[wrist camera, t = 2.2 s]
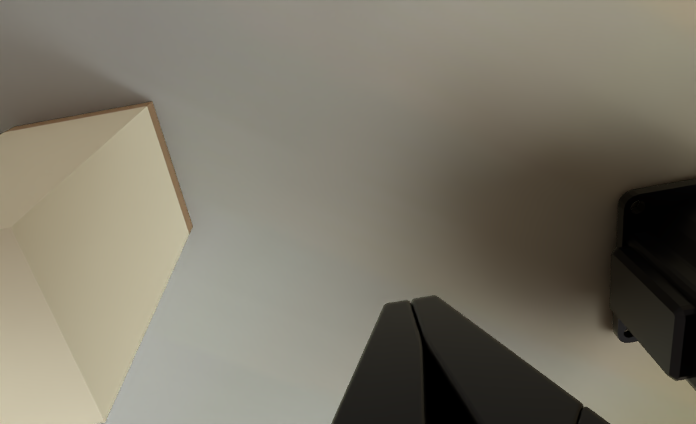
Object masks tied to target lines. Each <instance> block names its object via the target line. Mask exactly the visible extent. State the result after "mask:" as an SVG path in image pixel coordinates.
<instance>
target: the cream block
mask: <svg viewBox="0 0 696 424" xmlns="http://www.w3.org/2000/svg"><path fill="white" fill-rule="evenodd" d="M192 227H193V226H192V223H191V219H190V216H189V213H188V210H187V207H186V204H185V201H184V198H183V195H182V192H181V189H180V186H179V182H178V179H177V176H176V173H175V170H174V167H173V164H172V161H171V158H170V155H169V152H168V149H167V145H166V142H165V139H164V136H163V133H162V130H161V127H160V124H159V121H158V118H157V115H156V112H155V108H154V105H153V102H147V103H141V104H136V105H130V106H125V107H119V108H114V109H108V110H103V111H98V112H92V113H87V114H81V115H76V116H70V117H65V118H59V119H54V120H48V121H43V122H38V123H32V124H27V125H21V126H16V127H13V128H11V129H9V130H7V131H6V132H4V133H2V134H0V424H98V423H104V422H105V421H106V419H107V417H108V415H109V413H110V410H111V408H112V406H113V404H114V401H115V399H116V397H117V395H118V392H119V390H120V388H121V386H122V383H123V381H124V379H125V377H126V375H127V372H128V370H129V368H130V366H131V363H132V361H133V359H134V357H135V354H136V352H137V350H138V348H139V346H140V343H141V341H142V339H143V337H144V334H145V332H146V330H147V328H148V325H149V323H150V321H151V319H152V316H153V314H154V312H155V310H156V308H157V305H158V303H159V301H160V299H161V296H162V294H163V292H164V290H165V287H166V285H167V283H168V281H169V279H170V276H171V274H172V272H173V270H174V267H175V265H176V263H177V261H178V258H179V256H180V254H181V252H182V250H183V247H184V245H185V243H186V241H187V238H188V236H189V234H190V232H191V229H192Z"/></svg>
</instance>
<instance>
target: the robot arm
mask: <svg viewBox="0 0 696 424" xmlns="http://www.w3.org/2000/svg"><path fill="white" fill-rule="evenodd" d="M636 201H639V203H638V205H637V206H636V207H635V208H633V209H631V206H632V204H633V203H634V202H636ZM610 308H611V310H612V311H613V332H614V334H615V335H616V336H617V337H618V338H619V340H620V341H622V342H624V343H630V342H636V341H639V343H640V344H641V345H642V346H643V347H644V348H645V350H646V351H647V352H648V353H649V354H650V356H651V357H652V358H653V359H654V360H655V361H656V363H657V364H658V365H659V366H660V367H661V368H662V370H663V371H664V372H665V373H666V374H667V375H668V376H669V377H671V378H672V379H674V380H675V381H678V380H684V379H686V380H687V381H688V383H689V384H690V385H691V386H692V387H693V388H694V389H695V390H696V179H691V180H686V181H680V182H675V183H669V184H663V185H658V186H652V187H646V188H641V189H635V190H631V191H628V192H626V193H625V194H624V195H623V196H622V197H621V198H620V200H619V203H618V218H617V241H616V248H615V250H614V251H613V253H612V259H611V284H610ZM626 329H628V331H625V330H626ZM331 424H610V423H608V422H607V421H606V420H604V419H603V418H602V417H600V416H599V415H598V414H596V413H595V412H593V411H592V410H591V409H589V408H588V407H583V404H582V403H581V402H580V401H578V400H577V399H575V398H574V397H573V396H571V395H570V394H569V393H567V392H566V391H565V390H563V389H562V388H561V387H559V386H558V385H557V384H555V383H554V382H553V381H551V380H550V379H548V378H547V377H546V376H544V375H543V374H542V373H540V372H539V371H538V370H536V369H535V368H534V367H532V366H531V365H530V364H528V363H527V362H525V361H524V360H523V359H521V358H520V357H519V356H517V355H516V354H515V353H513V352H512V351H511V350H509V349H508V348H507V347H505V346H504V345H502V344H501V343H500V342H498V341H497V340H496V339H494V338H493V337H492V336H490V335H489V334H488V333H486V332H485V331H484V330H482V329H481V328H479V327H478V326H477V325H475V324H474V323H473V322H471V321H470V320H469V319H467V318H466V317H465V316H463V315H462V314H461V313H459V312H458V311H457V310H455V309H454V308H452V307H451V306H450V305H448V304H447V303H446V302H444V301H443V300H442V299H440V298H439V297H437V296H435V295H432V296H427V297H421V298H415V299H413V300H412V301H411V303H410V302H409V301H407V300H404V301H398V302H392V303H387V304H385V305H384V307H383V309H382V311H381V313H380V315H379V318H378V320H377V322H376V324H375V327H374V329H373V331H372V333H371V336H370V338H369V340H368V342H367V345H366V347H365V349H364V351H363V354H362V356H361V358H360V360H359V363H358V365H357V367H356V369H355V372H354V374H353V376H352V378H351V381H350V383H349V385H348V387H347V390H346V392H345V394H344V396H343V399H342V401H341V403H340V405H339V408H338V410H337V412H336V414H335V417H334V419H333V421H332V423H331Z"/></svg>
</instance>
